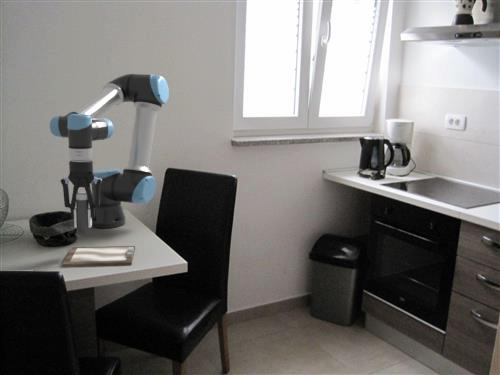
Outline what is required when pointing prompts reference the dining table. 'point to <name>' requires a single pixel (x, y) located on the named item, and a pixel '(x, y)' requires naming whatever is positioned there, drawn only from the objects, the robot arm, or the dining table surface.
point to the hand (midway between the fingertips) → (83, 226)
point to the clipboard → (100, 256)
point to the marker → (82, 212)
